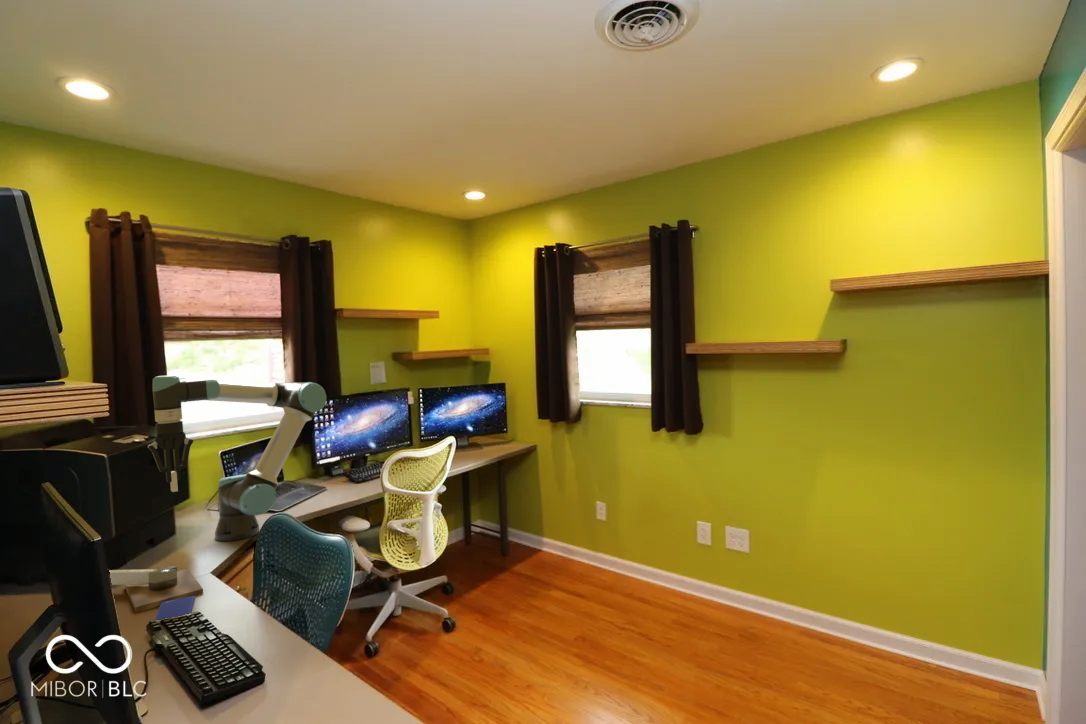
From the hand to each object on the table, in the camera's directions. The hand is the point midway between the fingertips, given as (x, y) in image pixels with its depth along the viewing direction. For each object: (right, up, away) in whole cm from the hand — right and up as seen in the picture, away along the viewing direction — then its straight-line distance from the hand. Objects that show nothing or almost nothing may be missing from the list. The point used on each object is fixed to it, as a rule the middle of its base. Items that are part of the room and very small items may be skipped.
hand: (174, 490), depth 184 cm
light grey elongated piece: (+3, -23, -22) cm, 32 cm away
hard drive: (+24, -25, -35) cm, 49 cm away
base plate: (+12, -25, -22) cm, 35 cm away
